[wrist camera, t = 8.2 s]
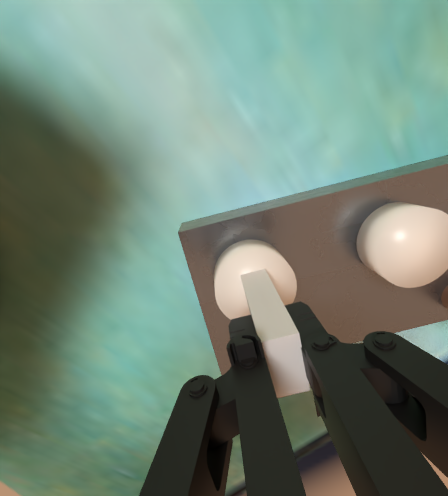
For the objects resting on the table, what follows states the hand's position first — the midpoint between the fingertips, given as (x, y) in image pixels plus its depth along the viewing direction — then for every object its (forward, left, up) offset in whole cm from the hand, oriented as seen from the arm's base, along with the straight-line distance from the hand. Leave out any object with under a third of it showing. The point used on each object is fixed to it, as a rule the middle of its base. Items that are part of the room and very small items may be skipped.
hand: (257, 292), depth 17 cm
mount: (+10, -2, -6) cm, 12 cm away
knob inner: (0, 0, -6) cm, 6 cm away
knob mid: (+10, 0, -6) cm, 12 cm away
